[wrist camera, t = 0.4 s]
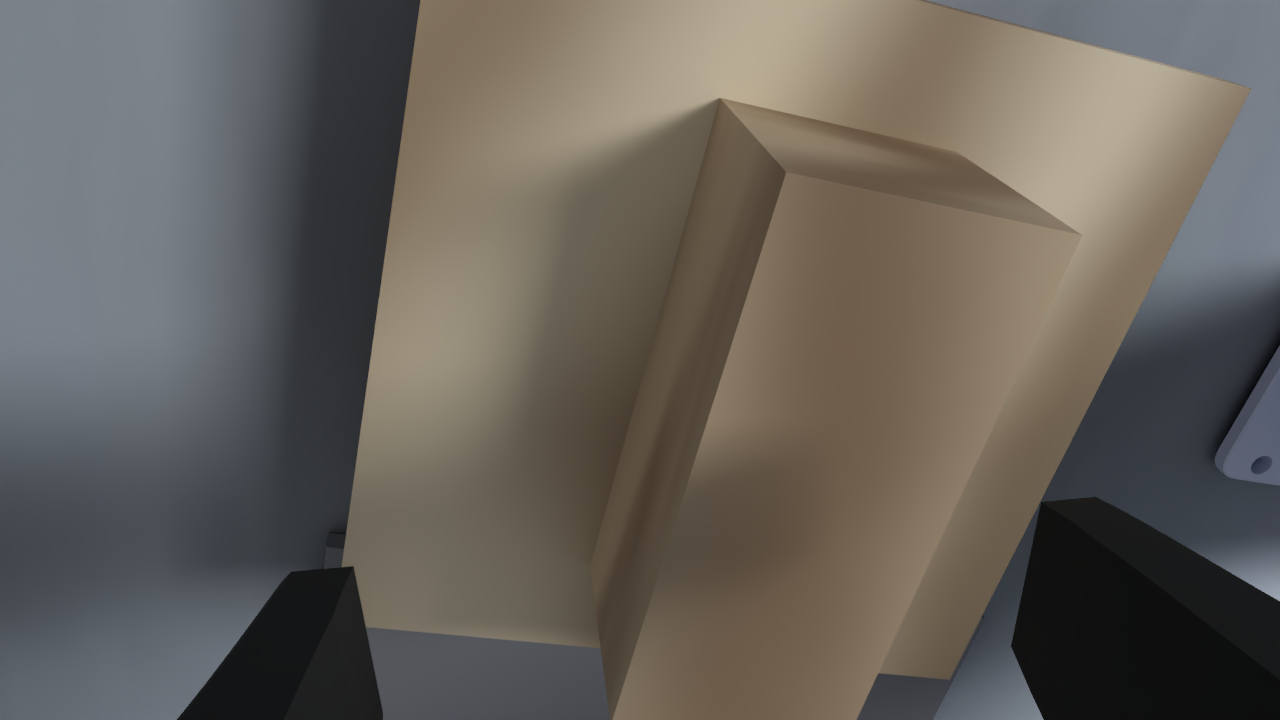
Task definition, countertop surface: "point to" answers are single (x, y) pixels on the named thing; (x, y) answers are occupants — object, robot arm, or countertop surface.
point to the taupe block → (748, 329)
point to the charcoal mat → (546, 677)
